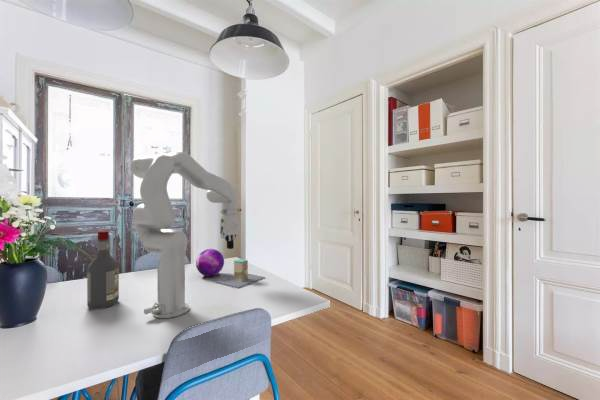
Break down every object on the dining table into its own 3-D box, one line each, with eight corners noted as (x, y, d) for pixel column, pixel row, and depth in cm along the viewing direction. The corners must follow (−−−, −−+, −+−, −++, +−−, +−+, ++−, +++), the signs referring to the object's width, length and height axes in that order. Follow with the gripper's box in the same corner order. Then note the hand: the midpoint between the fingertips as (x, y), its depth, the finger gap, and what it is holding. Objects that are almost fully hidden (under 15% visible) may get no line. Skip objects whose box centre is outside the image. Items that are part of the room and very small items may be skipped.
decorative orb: (229, 274, 154) (229, 248, 154) (208, 281, 141) (208, 252, 141) (212, 270, 162) (212, 245, 162) (190, 276, 149) (190, 249, 149)
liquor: (84, 310, 105) (84, 233, 105) (95, 301, 114) (95, 230, 113) (111, 307, 107) (111, 232, 107) (120, 299, 116) (120, 230, 116)
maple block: (240, 281, 139) (240, 262, 139) (234, 279, 142) (234, 260, 142) (247, 278, 144) (247, 260, 144) (240, 277, 146) (240, 259, 146)
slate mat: (238, 288, 130) (238, 287, 130) (215, 282, 139) (215, 281, 139) (264, 278, 147) (264, 277, 147) (243, 273, 156) (243, 272, 156)
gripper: (223, 213, 128) (223, 252, 128) (245, 211, 140) (246, 246, 141) (212, 213, 132) (213, 250, 132) (235, 211, 144) (235, 245, 145)
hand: (230, 248), depth 137 cm, fingers closed
